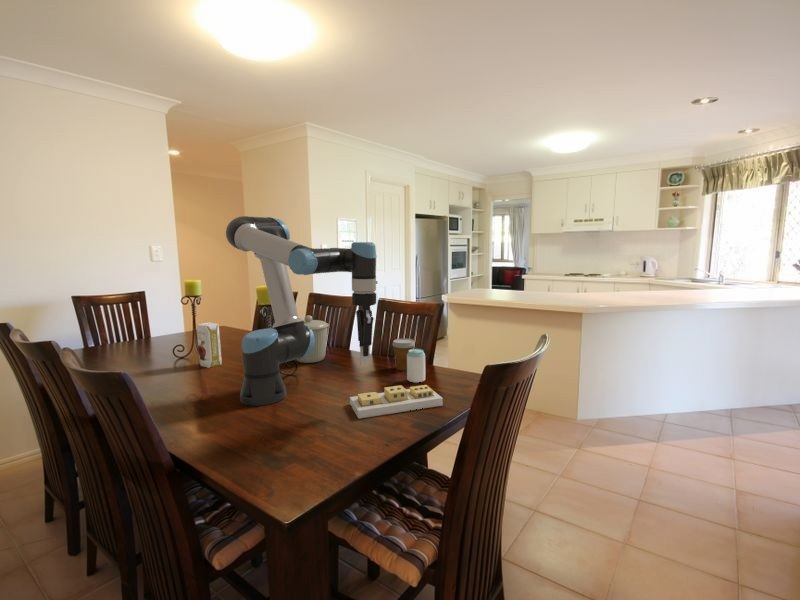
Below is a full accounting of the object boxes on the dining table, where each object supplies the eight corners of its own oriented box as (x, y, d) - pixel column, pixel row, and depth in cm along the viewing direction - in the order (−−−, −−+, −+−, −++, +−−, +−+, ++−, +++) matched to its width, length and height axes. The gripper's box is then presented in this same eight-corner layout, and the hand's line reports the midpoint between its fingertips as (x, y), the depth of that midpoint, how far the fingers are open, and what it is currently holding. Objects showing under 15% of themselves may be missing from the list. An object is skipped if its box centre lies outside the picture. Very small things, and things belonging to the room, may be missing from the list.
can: (424, 384, 151) (423, 353, 150) (405, 383, 153) (405, 352, 151) (426, 378, 158) (426, 348, 156) (409, 377, 159) (408, 347, 158)
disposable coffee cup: (419, 367, 173) (418, 339, 171) (407, 372, 165) (407, 344, 163) (400, 363, 178) (400, 337, 177) (388, 369, 170) (387, 341, 169)
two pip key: (390, 404, 128) (390, 393, 127) (384, 397, 133) (384, 387, 133) (407, 401, 129) (407, 390, 129) (401, 395, 135) (401, 384, 135)
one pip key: (362, 411, 125) (362, 400, 124) (358, 404, 131) (357, 393, 130) (381, 408, 127) (381, 397, 126) (375, 401, 132) (375, 391, 132)
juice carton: (213, 361, 186) (210, 321, 184) (224, 364, 181) (221, 323, 179) (197, 365, 180) (194, 324, 178) (207, 369, 175) (204, 326, 173)
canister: (293, 356, 194) (291, 313, 191) (331, 354, 196) (329, 311, 193) (287, 366, 176) (284, 319, 174) (328, 365, 178) (327, 318, 175)
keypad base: (358, 418, 122) (358, 410, 121) (350, 404, 133) (349, 397, 132) (442, 405, 131) (442, 398, 130) (428, 393, 142) (428, 386, 142)
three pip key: (416, 403, 131) (416, 392, 130) (409, 396, 136) (409, 386, 136) (433, 400, 132) (433, 390, 132) (426, 394, 138) (426, 384, 138)
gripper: (381, 294, 120) (381, 370, 124) (370, 289, 132) (371, 358, 136) (356, 295, 118) (357, 372, 121) (348, 290, 130) (349, 360, 133)
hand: (364, 365), depth 129 cm, fingers closed
